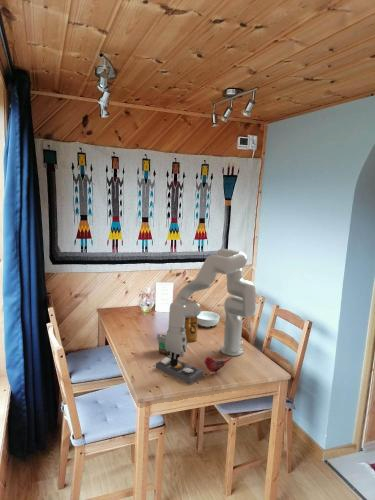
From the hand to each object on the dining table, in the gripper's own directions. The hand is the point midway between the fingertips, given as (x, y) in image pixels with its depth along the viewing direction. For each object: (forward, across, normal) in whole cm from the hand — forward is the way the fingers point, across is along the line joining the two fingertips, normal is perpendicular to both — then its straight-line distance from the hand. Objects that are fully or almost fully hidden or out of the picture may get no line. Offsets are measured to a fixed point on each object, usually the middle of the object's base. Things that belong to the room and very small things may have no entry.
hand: (173, 365), depth 178 cm
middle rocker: (+1, 0, -2) cm, 2 cm away
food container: (+5, +19, -15) cm, 25 cm away
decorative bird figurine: (+5, -14, -17) cm, 22 cm away
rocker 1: (+1, +7, -2) cm, 7 cm away
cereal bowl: (+4, +30, -68) cm, 74 cm away
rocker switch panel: (+5, 0, -4) cm, 7 cm away
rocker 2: (+1, -7, -2) cm, 7 cm away
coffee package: (+4, +24, -40) cm, 47 cm away
